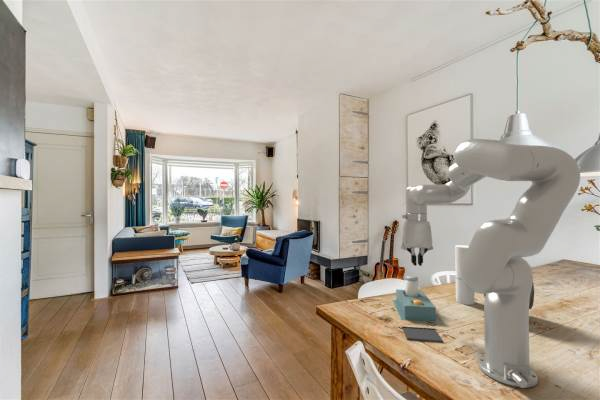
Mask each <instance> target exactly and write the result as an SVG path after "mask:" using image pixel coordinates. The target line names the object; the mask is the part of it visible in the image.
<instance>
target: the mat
mask: <svg viewBox="0 0 600 400" xmlns="http://www.w3.org/2000/svg"><path fill="white" fill-rule="evenodd" d="M401 329H402V331H403V333H404V335H405V338H406V341H417V342H419V341H420V342H434V343H443V342H444V340H443V339H442V337H441V336H440V334H439V332H438V331H437V329H436V328H430V327H417V326H416V327H414V326H401Z"/></svg>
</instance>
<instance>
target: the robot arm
mask: <svg viewBox="0 0 600 400" xmlns="http://www.w3.org/2000/svg"><path fill="white" fill-rule="evenodd" d="M453 160H454V163H453V164H451V165H450V166H449V167H448V170H447V173H448V178H449V180H450V181H448V182H446V183H444V184H433V183H432V184H420V185H416V186H415V185H414V186H413V185H411V186H408V187H406V189H405V214H402V215H401V217H402V219H405V221H404V222H403V228H402V244H401V246H400V247H401V249H402V250H404V251H407V252H408V253H410V258H411V259H410V260H411V264H412V265H413V266H417V264H418V266H419V267H420V266H422V267H423V265H422V264H423V263H424V255H425V254H426V253H427V252H428V251H429V252H430V251H432V250H434V246H433V236H432V227H431V223H430V221H428V206H447V205H450V204H453V203H454V202H457V201H458V200H460V199H462V198H464V197H465V196H466V195H467V193H468V192H469V191H470V188H471V186H473V185H474V184H477V183H478V182H480V181H482V180H483V179H485V178H491V179H495V180H498V181H505V182H531V183H532V184H531V186H530V187H529V188H528V189H526V190H525V191H524V192H523V194H521V196H520V197H519V198H518V200H517V202H516V204H515V207H514V208H513V210H512V212H511V214H510V215H509V216H508V217H507V218H505V219H503V218H502V219H501V218H500V219H493V220H488V221H486V222H484V223H483V224H481V225H480V226H479V227H478V228H477V229H476V231H475V232H474V234H473V236H472V239H471V240H470V244H469V245H468V246H469V247H468V250H467V252H466V254H465V257H464V259H463V262H462V265H461V270H460V273H461V279H462V281H463V283H464V285H465V286H466V287H467V288H468V289H470V290H471V291H473V292H474V293H475V294H480V295H481V294H482V295H484V294H486V296H485V298H484V303H483V306H484V307H483V308H484V309H483V311H484V312H483V317H484V319H483V320H484V321H483V322H484V323H483V325H484V328H483V330H484V331H483V332H484V333H483V334H484V355H481V356H480V357H478V358H477V359H478V360H477V364H478V367H479V369H480V370H481V371H482V372H483V373H484V374H486V375H487V376H488V377H490V378H491V379H493V380H495V381H497V382H500V383H502V384H505V385H507V386H511V387H517V388H521V389H525V388H532V387H533V388H534V387H535V386H537V384H538V382H539V376H538V375H537V373H536V372H535V370H533V369H532V368H531V367H530V366H531V364H530V309H529V299H530V293H531V288H532V284H534V274H533V270H532V266H531V265H530V264H529V262H528V261H527V260H526V259H524V258H527V257H533V256H536V255H538V254H540V253H541V251H543V249H544V247H545V246H546V245H547V242H548V241H549V239H550V237H551V235H552V234H553V232H554V230H555V229H556V227H557V225H558V223H559V221H560V220H561V217H562V215H563V213H564V212H565V211H566V208H567V207H568V206H569V204H570V203H571V201H572V199H573V198H574V196H575V194H576V192H577V191H578V188H579V185H580V182H581V170H580V166H579V165H578V163H577V161H576V159H575V158H574V157H573V156H572V155H570V154H569V153H568V152H567V151H564V150H563V149H560V148H557V147H554V146H547V145H531V144H530V145H529V144H514V143H512V144H511V143H505V142H504V141H502V140H497V139H489V138H488V139H485V138H470V139H467V140H465V141H463V142H461V143H460V144H459V145H458V146H457V148H456V149H455V151H454V155H453ZM416 248H417V249H418V254H416V252H415V249H416Z"/></svg>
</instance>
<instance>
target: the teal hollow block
mask: <svg viewBox="0 0 600 400" xmlns="http://www.w3.org/2000/svg"><path fill="white" fill-rule="evenodd" d="M395 298H396V299H392V302H393V305H394V306H395V309H396V311H397V313H398V315H399V318H400V320H401V321H415V322H427V323H429V322H432V323H441V320H440V319H439V317H438V316H437V313H436V311H437V310H436V309H437V308H436V306H435V305H434V303H433V302H432V301H431V300H430V298H429V297H428V296H427V295H426V294H425V292H424V291H423V290H420V289H418V297H406V290H405V289H397V288H396V289H395ZM413 300H421V301H422V305H413Z"/></svg>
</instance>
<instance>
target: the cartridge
mask: <svg viewBox="0 0 600 400" xmlns="http://www.w3.org/2000/svg"><path fill="white" fill-rule="evenodd" d="M404 278H405V279H404V280H405V281H404V283H405V289H404V290H406V297H418V290H419V277H418V276H417V275H405V276H404Z"/></svg>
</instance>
